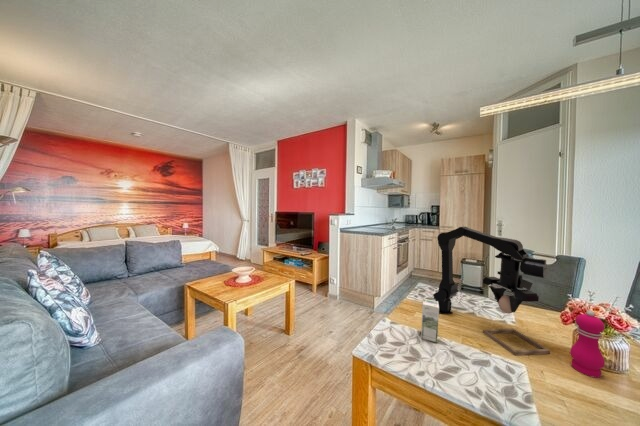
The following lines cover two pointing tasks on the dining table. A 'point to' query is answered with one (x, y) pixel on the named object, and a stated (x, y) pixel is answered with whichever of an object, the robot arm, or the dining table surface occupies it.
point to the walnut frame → (519, 352)
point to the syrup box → (430, 320)
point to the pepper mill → (588, 345)
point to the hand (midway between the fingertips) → (506, 308)
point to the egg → (505, 304)
